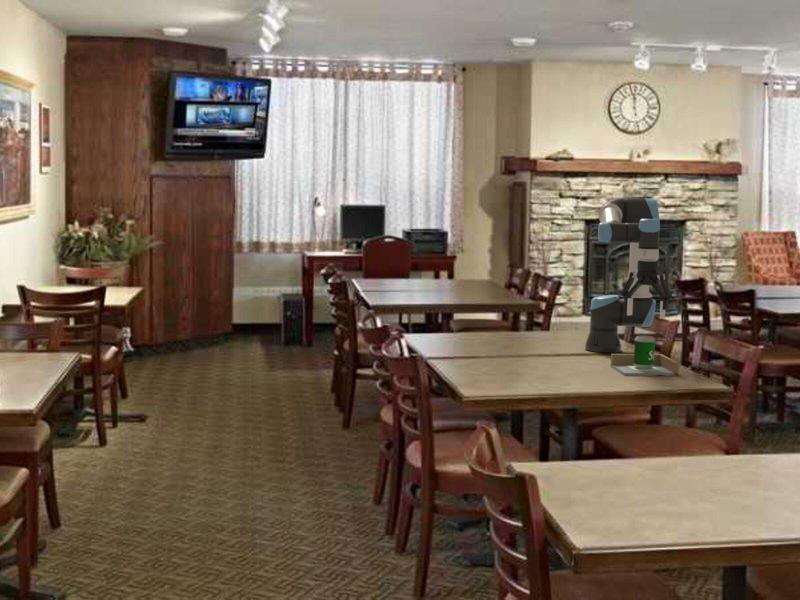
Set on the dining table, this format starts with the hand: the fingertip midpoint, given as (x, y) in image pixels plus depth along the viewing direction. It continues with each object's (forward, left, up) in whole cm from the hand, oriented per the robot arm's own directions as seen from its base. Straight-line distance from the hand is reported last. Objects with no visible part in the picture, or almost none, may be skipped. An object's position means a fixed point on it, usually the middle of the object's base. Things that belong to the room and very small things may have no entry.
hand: (645, 316), depth 398 cm
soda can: (0, 0, -20) cm, 20 cm away
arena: (0, 0, -21) cm, 21 cm away
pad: (0, 0, -21) cm, 21 cm away
